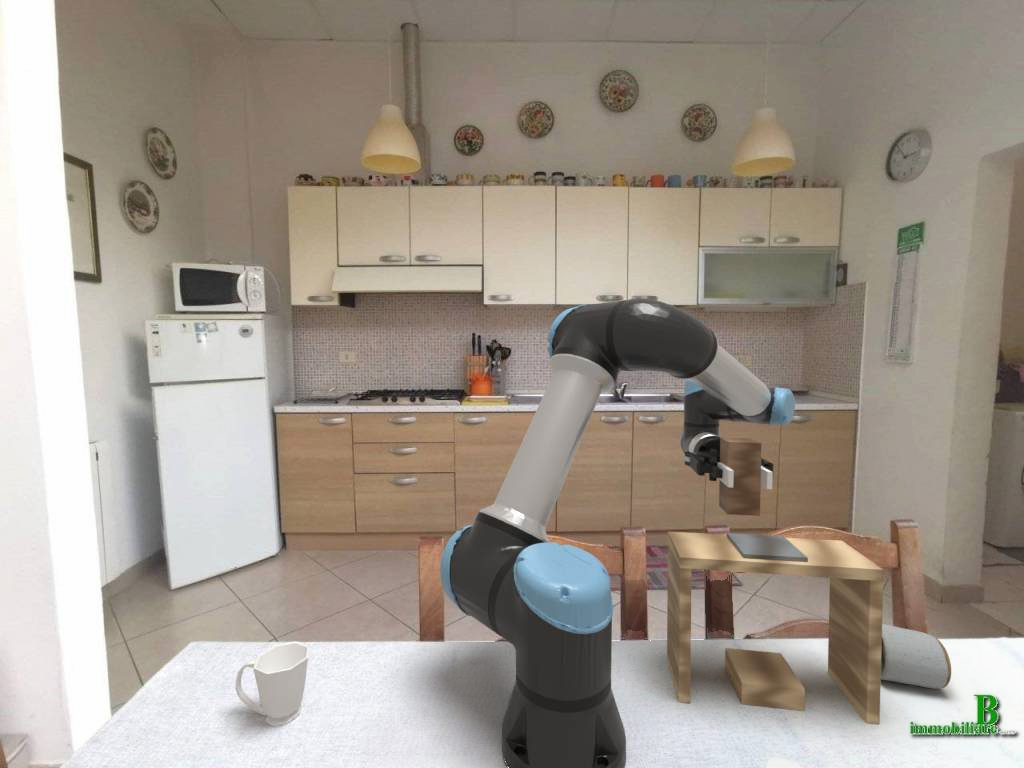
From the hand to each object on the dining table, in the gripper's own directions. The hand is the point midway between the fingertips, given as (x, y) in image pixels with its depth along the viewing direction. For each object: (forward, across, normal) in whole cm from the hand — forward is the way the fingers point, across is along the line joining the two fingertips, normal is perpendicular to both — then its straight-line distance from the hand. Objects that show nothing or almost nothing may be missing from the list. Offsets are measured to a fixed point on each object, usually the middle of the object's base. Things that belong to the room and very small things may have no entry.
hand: (750, 479), depth 73 cm
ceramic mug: (0, -22, -29) cm, 36 cm away
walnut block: (-5, 0, -6) cm, 8 cm away
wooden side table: (+7, 0, -29) cm, 30 cm away
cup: (+23, +67, -30) cm, 77 cm away
